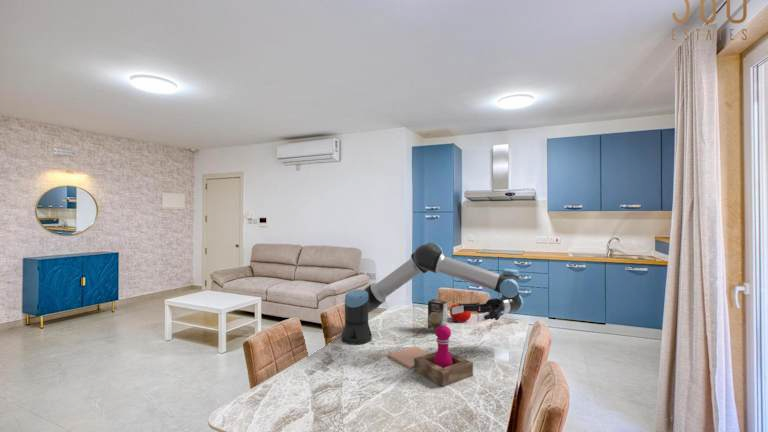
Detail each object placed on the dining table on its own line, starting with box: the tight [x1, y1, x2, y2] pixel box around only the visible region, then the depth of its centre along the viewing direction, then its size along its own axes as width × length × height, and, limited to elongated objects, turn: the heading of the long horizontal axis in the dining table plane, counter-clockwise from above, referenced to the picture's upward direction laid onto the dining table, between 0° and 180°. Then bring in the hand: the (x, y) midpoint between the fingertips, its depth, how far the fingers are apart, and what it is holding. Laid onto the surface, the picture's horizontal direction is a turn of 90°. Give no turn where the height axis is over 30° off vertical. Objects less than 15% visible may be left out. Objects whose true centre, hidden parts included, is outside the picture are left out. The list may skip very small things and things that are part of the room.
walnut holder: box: [413, 351, 474, 388], centre depth 137 cm, size 16×16×5 cm
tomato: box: [449, 302, 472, 323], centre depth 207 cm, size 11×13×10 cm
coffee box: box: [427, 298, 448, 333], centre depth 188 cm, size 9×6×16 cm
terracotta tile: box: [386, 345, 431, 370], centre depth 152 cm, size 16×16×1 cm
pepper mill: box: [434, 322, 452, 368], centre depth 137 cm, size 7×7×20 cm
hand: (464, 314), depth 143 cm, fingers open, 13 cm apart
